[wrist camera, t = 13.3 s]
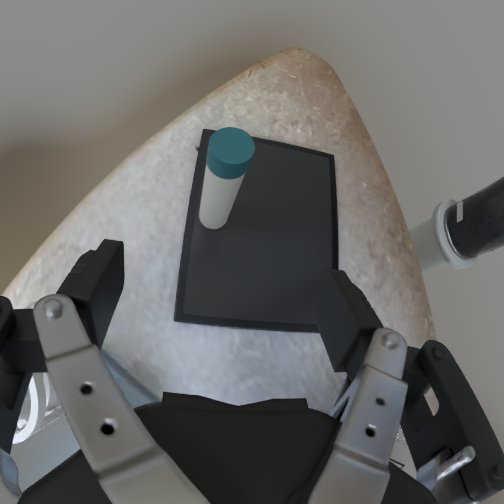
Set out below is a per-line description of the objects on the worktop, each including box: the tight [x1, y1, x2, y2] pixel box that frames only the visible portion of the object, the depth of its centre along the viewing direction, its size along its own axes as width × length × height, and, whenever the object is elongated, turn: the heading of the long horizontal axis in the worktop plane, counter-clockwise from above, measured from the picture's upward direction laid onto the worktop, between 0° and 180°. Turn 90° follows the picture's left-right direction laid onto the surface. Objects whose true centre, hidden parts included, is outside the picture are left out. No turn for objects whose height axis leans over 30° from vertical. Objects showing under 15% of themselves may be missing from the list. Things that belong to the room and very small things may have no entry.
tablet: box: [174, 129, 338, 333], centre depth 30 cm, size 16×21×1 cm
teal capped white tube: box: [199, 127, 255, 229], centre depth 23 cm, size 3×3×12 cm
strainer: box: [12, 372, 64, 444], centre depth 16 cm, size 7×7×15 cm
